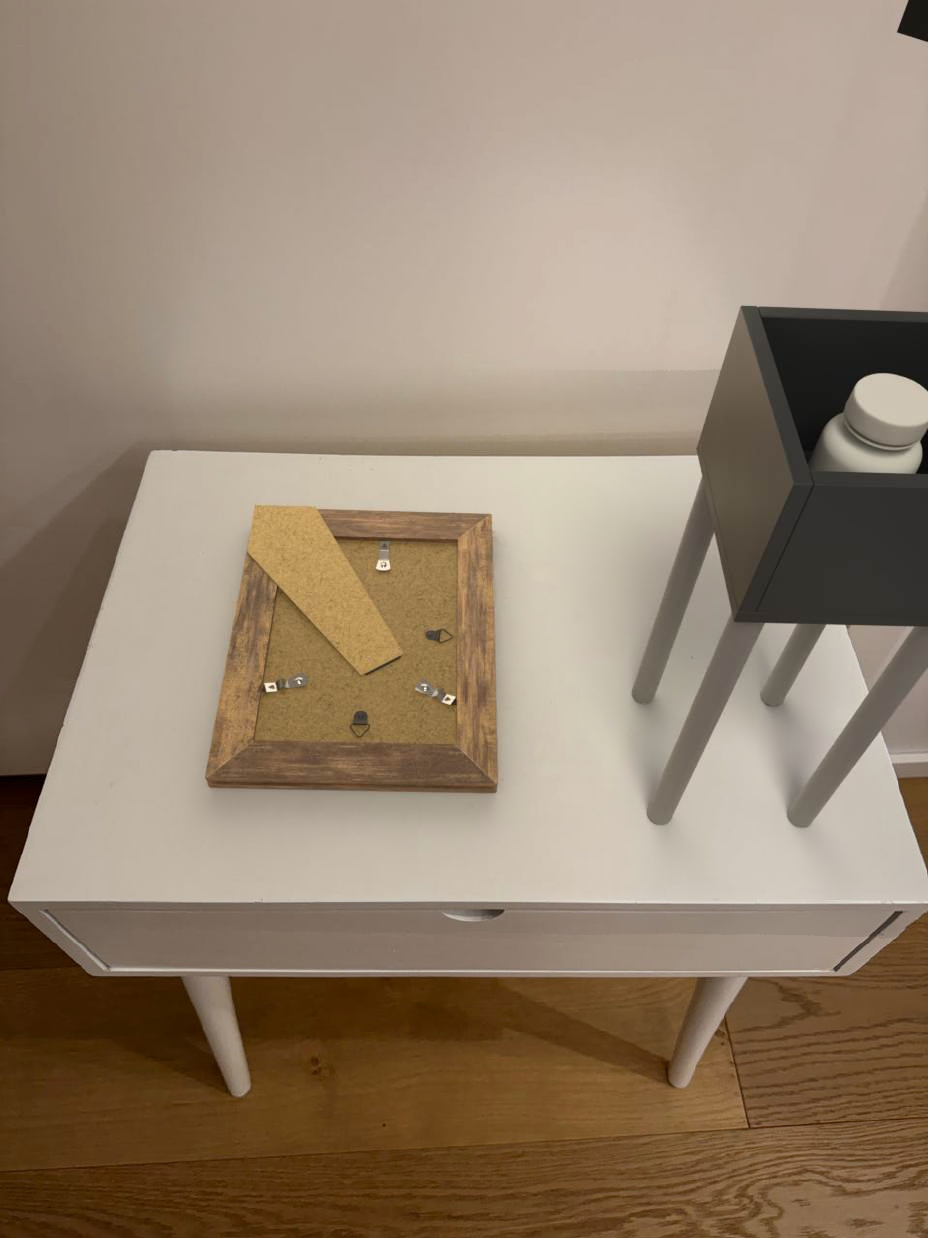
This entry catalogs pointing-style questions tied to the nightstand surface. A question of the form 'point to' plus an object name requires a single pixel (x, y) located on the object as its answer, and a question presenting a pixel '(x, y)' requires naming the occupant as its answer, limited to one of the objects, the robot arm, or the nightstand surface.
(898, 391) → the pill bottle
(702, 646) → the nightstand surface
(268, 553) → the picture frame
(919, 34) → the robot arm
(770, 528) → the legged open box
